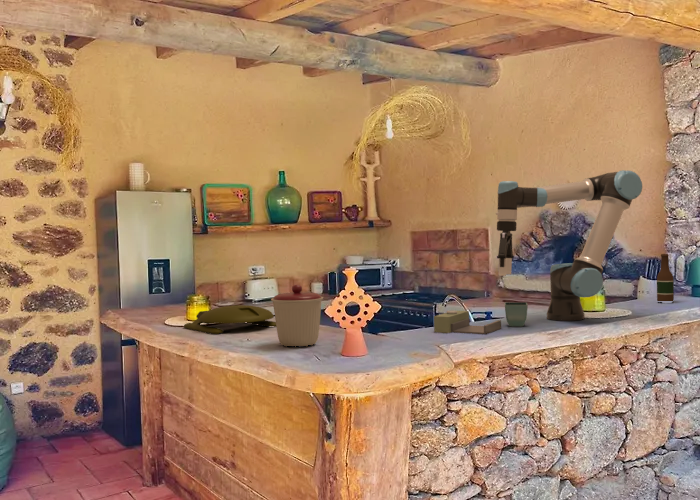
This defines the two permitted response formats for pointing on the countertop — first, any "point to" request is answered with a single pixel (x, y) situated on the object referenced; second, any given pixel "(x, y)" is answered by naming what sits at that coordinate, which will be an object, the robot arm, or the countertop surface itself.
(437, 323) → the olive stepped block
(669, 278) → the beer bottle
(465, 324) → the chute
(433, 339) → the countertop surface
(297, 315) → the canister
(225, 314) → the spaceship
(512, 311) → the flower pot
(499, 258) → the robot arm
